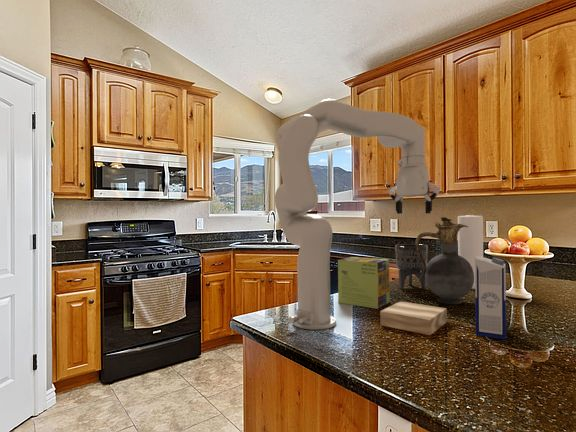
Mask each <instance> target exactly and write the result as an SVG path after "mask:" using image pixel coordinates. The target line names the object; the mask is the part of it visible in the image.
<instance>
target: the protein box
mask: <svg viewBox="0 0 576 432" xmlns="http://www.w3.org/2000/svg"><path fill="white" fill-rule="evenodd" d="M337 280H338V281H337V292H338V293H337V294H338V296H337V297H338V299H337V302H338V304H339V303H340V304H345V305H352V306H359V307H364V308H371V309H377V310H378V309H380V308H381V307H384V306H386V305H387V304H389V303H390V302H391V301H390V298H391V297H390V296H391V295H390V293H391V292H390V259H387V258H374V257H373V258H371V257H359V256H350V257H346V258H341V259H338V260H337Z"/></svg>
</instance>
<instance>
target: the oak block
mask: <svg viewBox="0 0 576 432" xmlns="http://www.w3.org/2000/svg"><path fill="white" fill-rule="evenodd" d="M447 312H448V309H447V308H446V307H440V306H433V305H426V304H421V303H414V302H406V301H401V300H400V301H398V302H396V303H394V304H392V305H390V306H388V307H385V308H384V309H382V310H380V312H379V316H380V317H379V318H380V322H379V323H380V326H382V327H388V328H393V329H398V330H402V331H407V332H413V333H418V334H422V335H427V336H431V335H432V334H434V333H435V332H437V330H439V329H440V328H441V327H443V326H444V325H445V324H447V323H448V313H447Z"/></svg>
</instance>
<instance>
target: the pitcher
mask: <svg viewBox="0 0 576 432" xmlns="http://www.w3.org/2000/svg"><path fill="white" fill-rule="evenodd" d="M440 221H442V224H441V223H439V222H437V221H436V222H435V225H434V226H435V228H437V229H438V231H437V232H430V231H423V232H421V233H419V234H418V235H417V237H416V239H415V244H416V250H417V253H418V255H419V257H420V259H421V261H422V263H423V265H424V272H423V274H422V276H421V278H420V280H421V279H422V277H423V275H424V274H425V276H426V285H427V286H428V288H429V289H430V290H431V292H432V293H434V295H436V296H439V297H437V302H439V303H440V304H447V305H460V304H462V303H463V299H461V298H462V297H464V296H467V295H468V294H469V293H470V291H471V290H472V289H471V288H472V287H473V283H474V272H473V269H472V267H471V265H470V263H469V262H468V261H467V260H466V259H465V258H463V257H461V256H459V255H458V246H457V244H458V231H459V229H461V228H462V227H468V226H466V225H463V224H458V223H453V222H452V221H453V219H449V218H448V217H446V216H441V217H440ZM424 237H431V238H435V239H438V240H439V242H440V243H441V245H440V246H441V248H440V249H441V252H440V254H439V255H435V256H434V257H432V258H431V259H430V260H429V261H428V262H427V268H426V265H425V262H424V260H423V258H422V256H421V254H420V249H419V244H420V241H421V239H422V238H424ZM425 272H426V273H425ZM420 280H419V279H418V282H420Z"/></svg>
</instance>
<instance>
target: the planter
mask: <svg viewBox="0 0 576 432" xmlns="http://www.w3.org/2000/svg"><path fill="white" fill-rule="evenodd" d="M428 247H429V246H428V244H422V243H421V244H420V243H419V249H420V254H421V256H422V258H423V260H424V262H425V265H426V268H427V265H428V251H429V250H428ZM394 250H395V262H396V263H395V264H396V265H395V266H396V269H397V270H398V287H399V289H401V290H403V289H404V286H405V283H406V280H407V278H408V286H413V276H415V277H417V279H418V281H419V280H420V278H421V276H422V274H423V272H424V265H423V263H422V261H421V259H420V257H419V255H418V253H417V250H416V243H402V244H395V245H394ZM425 273H426V272H425ZM419 282H420V286H421V289H422V290H426V289H427V282H426V276H425V274H424V275H423V277H422V279H421V280H420V281H419Z"/></svg>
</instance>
